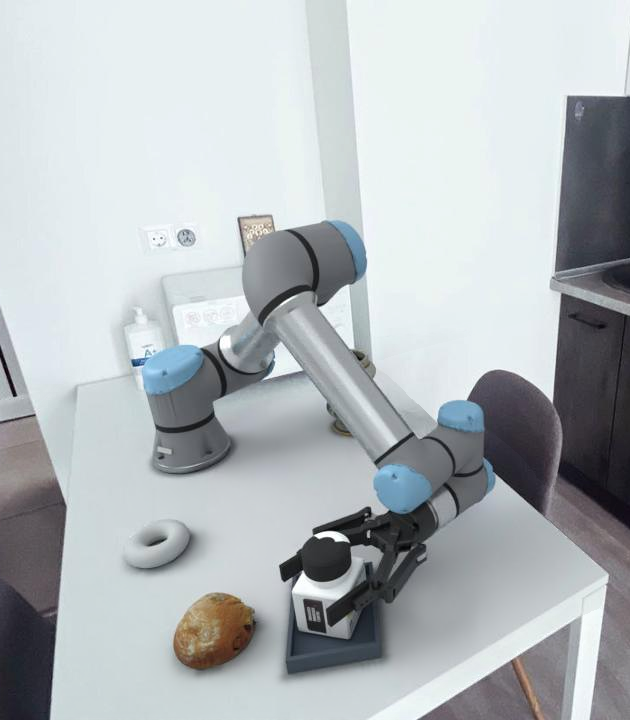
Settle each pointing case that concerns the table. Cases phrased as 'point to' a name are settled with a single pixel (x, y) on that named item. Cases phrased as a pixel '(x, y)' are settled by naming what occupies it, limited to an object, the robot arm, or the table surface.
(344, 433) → the apothecary jar
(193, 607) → the bread roll
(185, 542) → the donut
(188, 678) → the table surface
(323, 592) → the container
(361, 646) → the tray
